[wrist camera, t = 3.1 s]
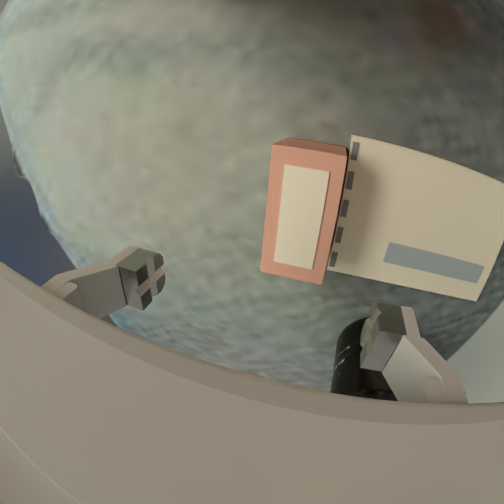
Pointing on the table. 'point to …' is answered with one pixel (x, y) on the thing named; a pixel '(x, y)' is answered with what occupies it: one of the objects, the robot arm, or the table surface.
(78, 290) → the robot arm
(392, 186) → the cream flat block
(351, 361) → the supplement bottle
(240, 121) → the table surface
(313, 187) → the pink box
